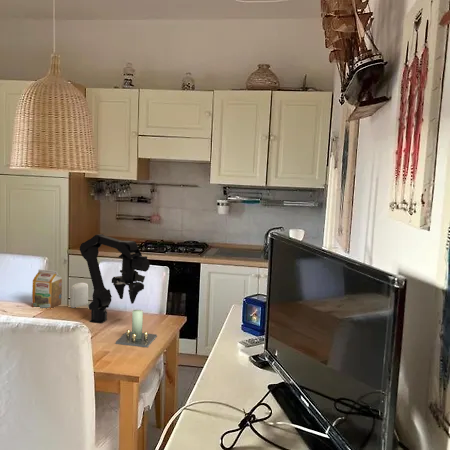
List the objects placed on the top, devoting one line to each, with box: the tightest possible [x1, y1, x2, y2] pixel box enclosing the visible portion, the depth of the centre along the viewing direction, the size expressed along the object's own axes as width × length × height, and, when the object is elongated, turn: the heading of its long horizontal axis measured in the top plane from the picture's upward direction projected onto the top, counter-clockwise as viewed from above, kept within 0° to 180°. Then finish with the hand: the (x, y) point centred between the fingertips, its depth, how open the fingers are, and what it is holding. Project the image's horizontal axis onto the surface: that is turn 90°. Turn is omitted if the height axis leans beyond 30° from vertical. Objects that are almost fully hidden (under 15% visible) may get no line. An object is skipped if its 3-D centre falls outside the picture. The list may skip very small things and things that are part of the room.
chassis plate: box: [115, 329, 158, 348], centre depth 208 cm, size 14×14×4 cm
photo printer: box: [69, 282, 89, 309], centre depth 254 cm, size 10×4×12 cm, turn 148°
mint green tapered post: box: [131, 309, 144, 340], centre depth 208 cm, size 4×4×12 cm
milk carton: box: [31, 269, 63, 310], centre depth 250 cm, size 11×11×19 cm
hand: (126, 301), depth 222 cm, fingers open, 9 cm apart
